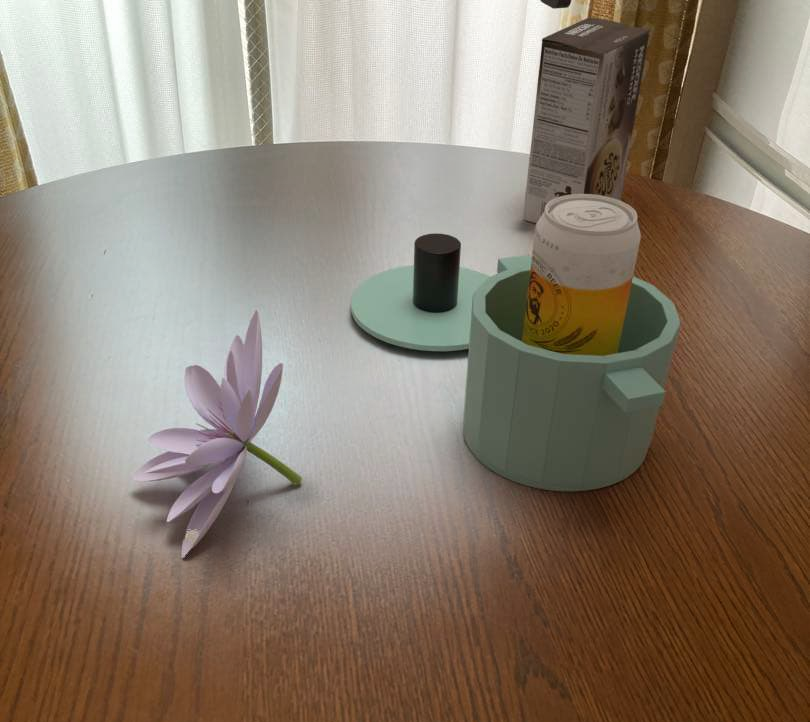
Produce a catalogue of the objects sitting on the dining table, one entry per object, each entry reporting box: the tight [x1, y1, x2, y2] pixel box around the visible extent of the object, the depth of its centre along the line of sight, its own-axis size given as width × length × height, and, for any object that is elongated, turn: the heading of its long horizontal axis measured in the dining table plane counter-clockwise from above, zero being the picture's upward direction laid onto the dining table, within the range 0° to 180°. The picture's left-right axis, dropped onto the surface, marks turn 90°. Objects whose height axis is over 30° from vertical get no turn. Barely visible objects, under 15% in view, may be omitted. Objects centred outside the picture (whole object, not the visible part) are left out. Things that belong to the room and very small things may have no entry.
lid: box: [350, 232, 492, 352], centre depth 73 cm, size 14×14×6 cm
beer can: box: [522, 194, 642, 356], centre depth 58 cm, size 6×6×15 cm
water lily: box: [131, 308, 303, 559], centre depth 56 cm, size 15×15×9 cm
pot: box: [462, 254, 681, 492], centre depth 60 cm, size 13×18×10 cm
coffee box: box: [522, 17, 651, 225], centre depth 85 cm, size 9×6×16 cm
